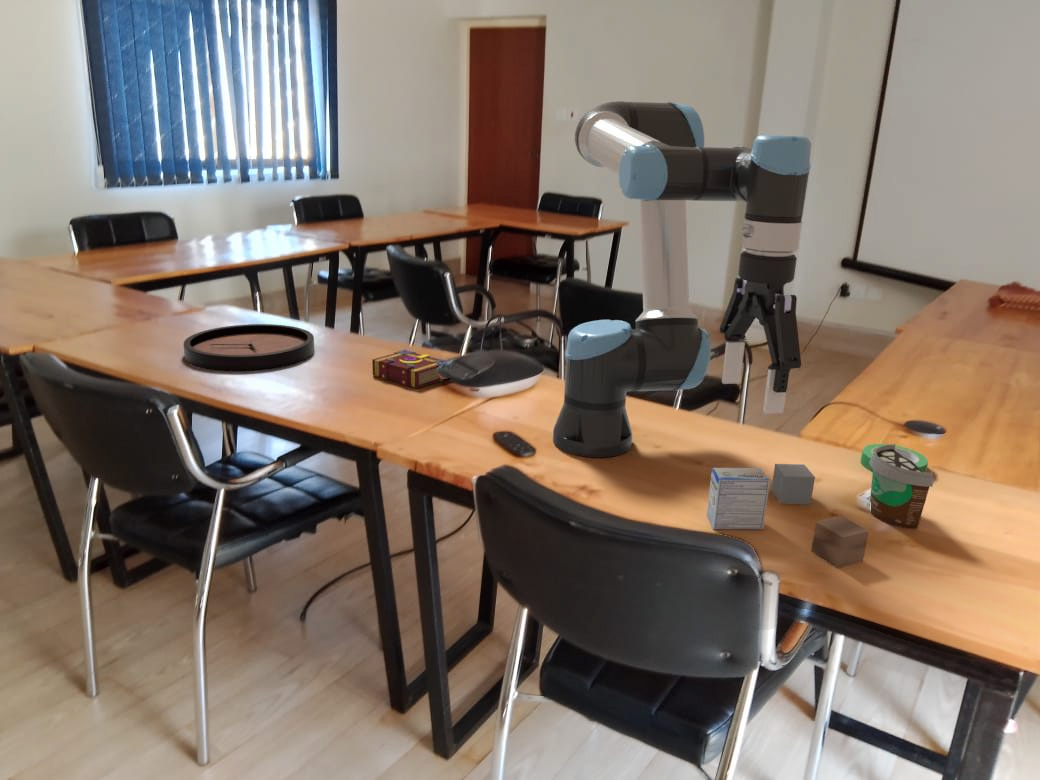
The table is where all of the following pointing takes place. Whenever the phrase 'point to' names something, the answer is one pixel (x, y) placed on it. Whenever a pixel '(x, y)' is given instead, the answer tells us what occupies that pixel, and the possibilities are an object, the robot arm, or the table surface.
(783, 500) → the slate grey block
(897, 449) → the tape roll
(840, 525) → the walnut block
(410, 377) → the decorative book
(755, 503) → the medicine box
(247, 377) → the table surface
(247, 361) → the wall clock
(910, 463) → the food container
